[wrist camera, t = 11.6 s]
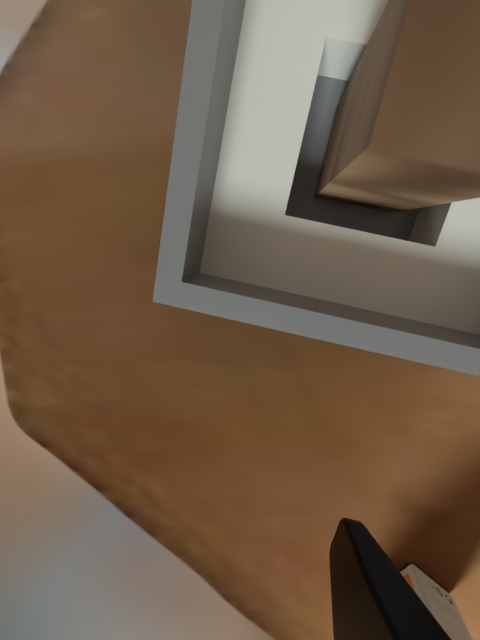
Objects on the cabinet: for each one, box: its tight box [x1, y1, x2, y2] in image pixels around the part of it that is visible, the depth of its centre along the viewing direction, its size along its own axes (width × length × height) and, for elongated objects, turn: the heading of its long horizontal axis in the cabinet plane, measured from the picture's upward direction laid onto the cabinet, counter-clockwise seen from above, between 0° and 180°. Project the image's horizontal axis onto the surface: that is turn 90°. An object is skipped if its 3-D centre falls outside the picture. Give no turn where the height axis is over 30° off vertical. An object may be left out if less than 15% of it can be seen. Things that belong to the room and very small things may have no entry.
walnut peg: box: [314, 0, 480, 213], centre depth 11 cm, size 4×4×10 cm
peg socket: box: [153, 0, 480, 376], centre depth 13 cm, size 15×15×7 cm
